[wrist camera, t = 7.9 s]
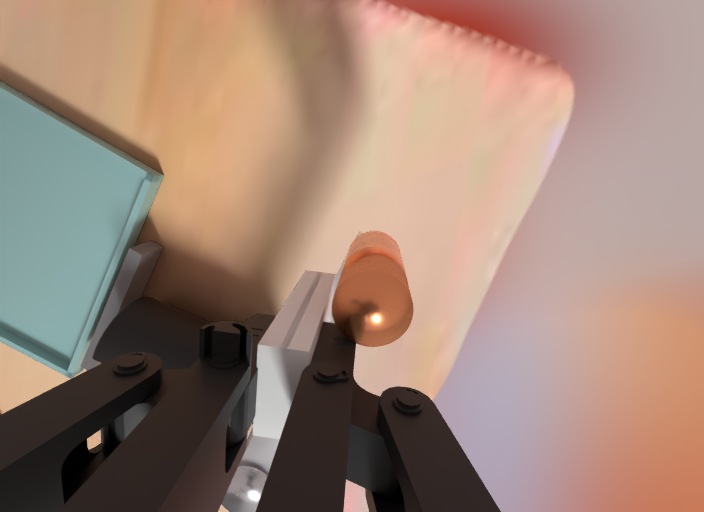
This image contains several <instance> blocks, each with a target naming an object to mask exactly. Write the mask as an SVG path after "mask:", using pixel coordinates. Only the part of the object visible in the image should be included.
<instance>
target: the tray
mask: <svg viewBox="0 0 704 512" xmlns="http://www.w3.org/2000/svg"><path fill="white" fill-rule="evenodd" d="M163 176H164V175H162V174H161V173H159V172H157V171H155V170H154V169H152V168H150V167H149V166H147V165H145V164H143V163H142V162H140V161H138V160H136V159H135V158H133V157H131V156H130V155H128V154H126V153H124V152H123V151H121V150H119V149H117V148H116V147H114V146H112V145H111V144H109V143H107V142H105V141H104V140H102V139H100V138H98V137H97V136H95V135H93V134H92V133H90V132H88V131H86V130H85V129H83V128H81V127H79V126H78V125H76V124H74V123H73V122H71V121H69V120H67V119H66V118H64V117H62V116H61V115H59V114H57V113H55V112H54V111H52V110H50V109H48V108H47V107H45V106H43V105H42V104H40V103H38V102H36V101H35V100H33V99H31V98H29V97H28V96H26V95H24V94H23V93H21V92H19V91H17V90H16V89H14V88H12V87H10V86H9V85H7V84H5V83H4V82H2V81H0V342H2V343H4V344H6V345H8V346H9V347H11V348H13V349H15V350H17V351H19V352H21V353H23V354H25V355H27V356H29V357H31V358H32V359H34V360H36V361H38V362H40V363H42V364H44V365H46V366H48V367H50V368H52V369H53V370H55V371H57V372H59V373H61V374H63V375H65V376H67V377H69V378H72V377H74V376H75V375H77V374H78V373H80V372H81V371H82V370H83V367H81V364H82V361H83V359H84V356H85V354H86V352H87V349H88V347H89V344H90V342H91V339H92V337H93V335H94V332H95V330H96V327H97V325H98V323H99V320H100V318H101V315H102V313H103V310H104V308H105V306H106V303H107V301H108V298H109V296H110V294H111V291H112V289H113V286H114V284H115V281H116V279H117V277H118V274H119V272H120V269H121V267H122V265H123V262H124V260H125V257H126V255H127V252H128V250H129V248H131V247H134V246H135V243H136V241H137V239H138V236H139V234H140V231H141V229H142V227H143V224H144V222H145V219H146V217H147V215H148V212H149V210H150V207H151V205H152V203H153V200H154V198H155V195H156V193H157V191H158V188H159V186H160V183H161V181H162V179H163Z"/></svg>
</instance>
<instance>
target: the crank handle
mask: <svg viewBox="0 0 704 512" xmlns="http://www.w3.org/2000/svg"><path fill="white" fill-rule="evenodd" d="M412 316H413V303H412V298H411V294H410V290H409V286H408V282H407V278H406V274H405V269H404V265H403V261H402V257H401V253H400V249H399V246H398V245H397V243H396V241H395V240H394V239H393V238H392V237H391V236H389V235H387V234H385V233H383V232H379V231H370V232H366V233H361V232H359V233H358V235H357V236H356V238H355V240H354V241H353V242H352V244H351V246H350V248H349V251H348V254H347V256H346V257H345V259H344V261H343V263H342V265H341V267H340V269H339V271H338V273H337V275H336V277H335V284H334V293H333V300H332V311H331V319H330V323H335V325H336V326H337V328H338V330H339V331H340V332H341V333H342V334H343V335H344V336H345V337H346V338H348V339H349V340H351V341H352V342H354V343H357V344H359V345H363V346H368V347H377V346H383V345H387V344H389V343H392V342H394V341H395V340H397V339H398V338H400V337H401V336H402V335H403V334H404V333H405V332H406V330H407V329H408V327H409V325H410V323H411V320H412ZM279 440H280V439H274V438H268V437H261V436H254V435H252V437H251V439H250V441H249V443H248V444H247V446H246V451H245V453H244V455H243V457H242V459H241V462H240V464H239V466H238V468H237V470H236V473H235V475H234V477H233V479H232V481H231V484H230V486H229V488H228V490H227V492H226V494H225V497H224V499H223V501H222V503H221V504H222V505H223V506H224V507H225V508H226V509H227V510H228V511H230V512H256V509H257V506H258V503H259V500H260V497H261V494H262V491H263V488H264V485H265V482H266V479H267V476H268V473H269V470H270V467H271V464H272V461H273V458H274V455H275V452H276V449H277V446H278V443H279Z"/></svg>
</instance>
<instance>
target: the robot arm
mask: <svg viewBox="0 0 704 512" xmlns="http://www.w3.org/2000/svg"><path fill="white" fill-rule="evenodd" d="M335 275H336V274H329V273H321V272H314V271H305V272H304V274H303V275H302V277H301V278H300V280H299V282H298V283H297V285H296V286H295V288H294V289H293V291H292V292H291V294H290V295H289V297H288V299H287V300H286V302H285V303H284V305H283V306H282V308H281V309H280V311H279V312H278V314H277V316H271V315H263V314H256V315H254V316H252V317H250V318H248V319H247V320H246V321H245V322H244V323H242V322H238V321H228V320H225V321H216V322H212V323H209V324H206V325H204V326H203V327H201V328H200V344H199V359H198V360H197V361H196V362H195V363H194V364H193V365H192V366H191V367H190V368H186V369H171V370H162V361H161V358H160V357H158V356H157V355H155V354H151V353H146V352H131V353H128V354H124V355H120V356H117V357H114V358H112V359H109V360H107V361H105V362H103V363H102V364H100V365H98V366H96V367H94V368H92V369H90V370H88V371H86V372H84V373H82V374H80V375H78V376H76V377H74V378H72V379H70V380H68V381H66V382H64V383H62V384H60V385H58V386H57V387H55V388H53V389H51V390H49V391H47V392H45V393H43V394H41V395H39V396H37V397H35V398H33V399H31V400H29V401H27V402H25V403H23V404H21V405H19V406H17V407H15V408H13V409H11V410H10V411H8V412H6V413H4V414H2V415H0V512H218V510H219V508H220V505H221V503H222V501H223V499H224V497H225V494H226V492H227V490H228V488H229V486H230V484H231V481H232V479H233V477H234V475H235V473H236V470H237V468H238V466H239V464H240V462H241V459H242V457H243V455H244V453H245V451H246V446H247V433H248V430H249V428H250V426H251V423H252V421H253V435H254V436H261V437H268V438H274V439H280V440H279V443H278V446H277V449H276V452H275V455H274V458H273V461H272V464H271V467H270V470H269V473H268V476H267V479H266V482H265V485H264V488H263V491H262V494H261V497H260V500H259V503H258V506H257V509H256V512H343V508H344V496H345V483H346V479H347V480H349V481H351V482H353V483H355V484H357V485H360V486H362V487H364V488H365V490H366V500H367V504H368V508H369V512H501V511H500V510H499V508H498V506H497V505H496V503H495V502H494V500H493V498H492V497H491V495H490V493H489V492H488V490H487V489H486V487H485V485H484V484H483V482H482V480H481V479H480V477H479V476H478V474H477V472H476V471H475V469H474V467H473V466H472V464H471V463H470V461H469V459H468V458H467V456H466V454H465V453H464V451H463V449H462V448H461V446H460V445H459V443H458V441H457V440H456V438H455V436H454V435H453V433H452V432H451V430H450V428H449V427H448V425H447V423H446V422H445V420H444V419H443V417H442V415H441V414H440V412H439V410H438V409H437V407H436V406H435V404H434V403H433V401H432V400H431V399H430V398H429V397H428V396H426V395H425V394H423V393H422V392H420V391H418V390H415V389H412V388H408V387H392V388H389V389H387V390H385V391H383V393H382V394H381V396H380V397H379V396H377V395H374V394H372V393H370V392H367V391H365V390H364V389H363V388H361V387H360V386H359V385H358V384H357V383H356V381H355V380H354V377H353V369H354V358H355V348H356V343H354V342H352V341H351V340H349V339H348V338H346V337H345V336H344V335H343V334H342V333H341V332H340V331H339V330H338V328H337V326H336V325H335V323H330V319H331V311H332V300H333V293H334V284H335ZM100 429H101V443H100V444H99V445H97V446H96V447H94V448H92V449H90V450H88V448H87V438H89V437H90V436H92V435H93V434H94V433H96V432H97V431H99V430H100Z"/></svg>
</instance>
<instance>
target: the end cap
mask: <svg viewBox="0 0 704 512" xmlns="http://www.w3.org/2000/svg"><path fill="white" fill-rule="evenodd" d="M209 323H211V322H208V321H206V320H204V319H201V318H199V317H196V316H194V315H192V314H189V313H187V312H185V311H182V310H180V309H177V308H175V307H173V306H170V305H168V304H166V303H163V302H161V301H158V300H156V299H154V298H151V297H140V298H138V299H136V300H134V301H132V302H131V303H129V304H128V305H127V306H126V307H124V308H123V309H122V310H121V311H120V312H119V313H118V314H117V315H116V316H115V318H114V319H113V320H112V321H111V322H110V324H109V325H108V327H107V328H106V330H105V331H104V332H103V334H102V336H101V338H100V340H99V341H98V344H97V346H96V348H95V351H94V354H93V357H92V358H93V359H94V360H96V361H98V362H100V363H103V362H105V361H107V360H109V359H112V358H114V357H117V356H120V355H124V354H128V353H131V352H146V353H151V354H155V355H157V356H158V357H160V358H161V361H162V370H171V369H186V368H190V367H191V366H192V365H193V364H194V363H195V362H196V361H197V360H198V359H199V344H200V328H201V327H203V326H204V325H206V324H209Z"/></svg>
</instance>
